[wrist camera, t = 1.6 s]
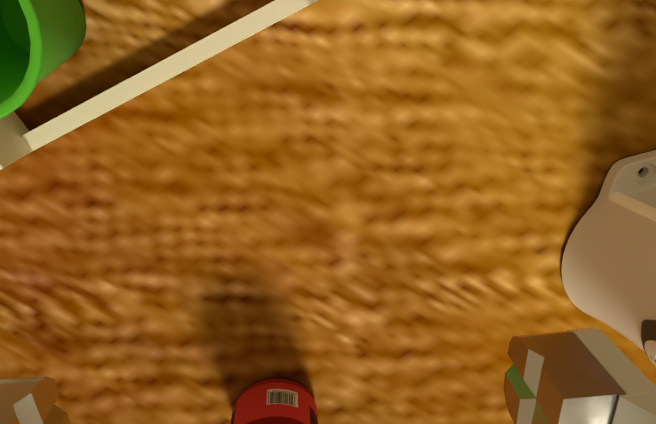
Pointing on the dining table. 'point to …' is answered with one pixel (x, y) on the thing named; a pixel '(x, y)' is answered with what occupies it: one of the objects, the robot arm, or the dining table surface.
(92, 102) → the frame
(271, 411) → the canned food
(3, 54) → the cup
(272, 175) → the dining table surface
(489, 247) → the dining table surface
